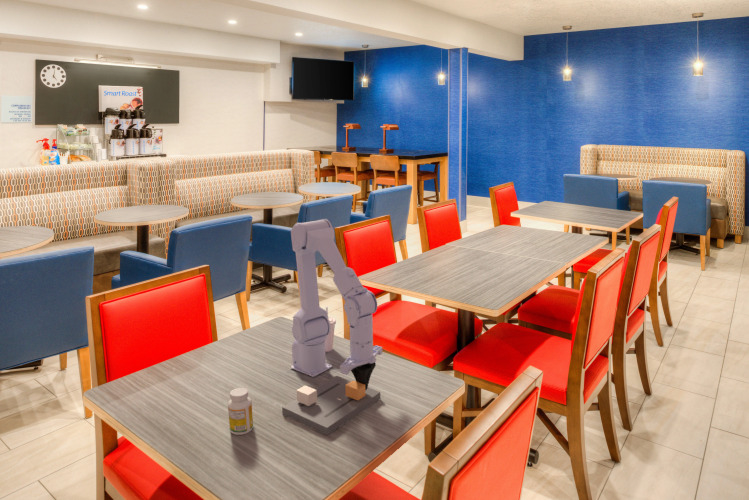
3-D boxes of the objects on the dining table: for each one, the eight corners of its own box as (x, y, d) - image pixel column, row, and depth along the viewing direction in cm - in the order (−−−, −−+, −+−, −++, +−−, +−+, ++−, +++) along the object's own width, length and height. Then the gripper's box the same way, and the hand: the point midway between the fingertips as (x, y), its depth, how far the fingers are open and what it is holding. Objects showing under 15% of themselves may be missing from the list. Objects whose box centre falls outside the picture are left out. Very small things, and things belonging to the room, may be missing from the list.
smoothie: (333, 354, 161) (332, 311, 158) (313, 352, 163) (311, 310, 159) (339, 345, 168) (337, 304, 164) (319, 344, 169) (318, 303, 165)
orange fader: (345, 395, 132) (345, 384, 132) (353, 390, 135) (353, 380, 134) (357, 400, 130) (357, 389, 129) (365, 395, 132) (365, 384, 132)
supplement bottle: (239, 438, 120) (235, 400, 117) (225, 430, 123) (221, 392, 121) (258, 427, 124) (255, 391, 121) (244, 420, 127) (241, 383, 125)
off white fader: (297, 401, 130) (296, 390, 130) (305, 396, 133) (305, 385, 132) (308, 406, 128) (308, 395, 127) (317, 401, 130) (316, 390, 129)
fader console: (282, 414, 129) (282, 406, 129) (337, 382, 144) (336, 375, 144) (327, 435, 120) (327, 427, 120) (380, 399, 135) (380, 392, 135)
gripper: (355, 353, 123) (356, 405, 126) (391, 333, 134) (391, 382, 138) (332, 346, 127) (334, 397, 131) (369, 327, 138) (370, 374, 142)
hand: (362, 389), depth 134 cm, fingers closed
